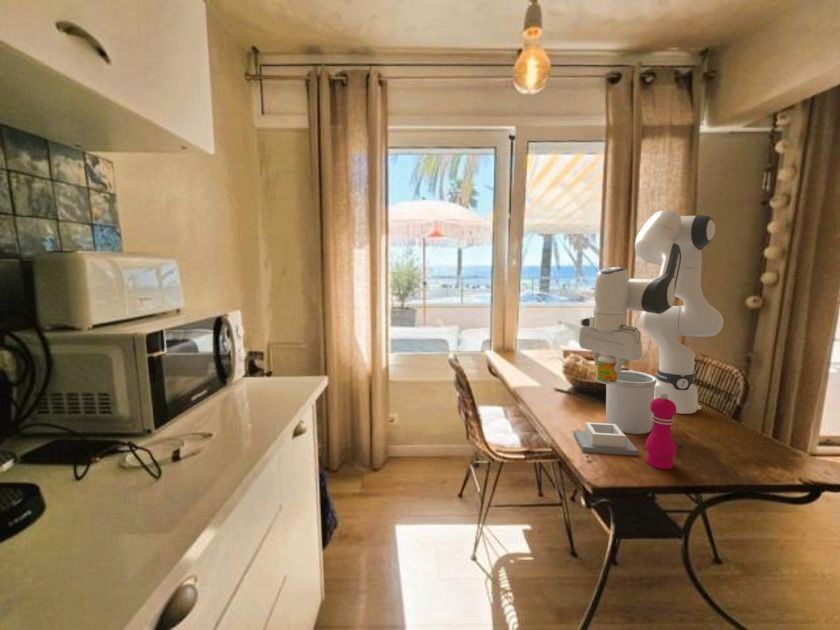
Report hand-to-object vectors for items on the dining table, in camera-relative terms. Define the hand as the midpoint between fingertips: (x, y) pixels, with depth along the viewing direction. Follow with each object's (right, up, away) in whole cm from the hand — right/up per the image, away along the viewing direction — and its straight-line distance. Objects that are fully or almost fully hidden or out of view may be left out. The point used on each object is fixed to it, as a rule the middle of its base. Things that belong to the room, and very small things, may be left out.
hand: (607, 368), depth 115 cm
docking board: (0, -23, +3) cm, 24 cm away
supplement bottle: (0, -4, 0) cm, 4 cm away
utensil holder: (+15, -22, +16) cm, 31 cm away
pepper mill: (+10, -25, -9) cm, 28 cm away
